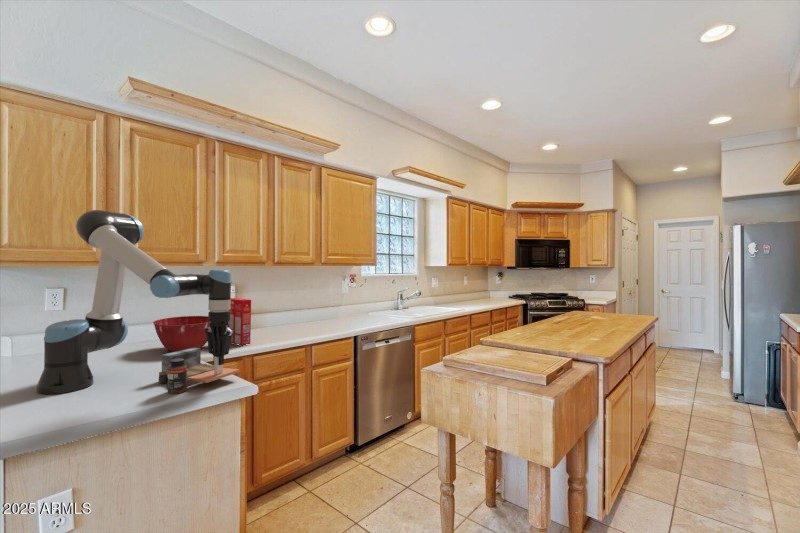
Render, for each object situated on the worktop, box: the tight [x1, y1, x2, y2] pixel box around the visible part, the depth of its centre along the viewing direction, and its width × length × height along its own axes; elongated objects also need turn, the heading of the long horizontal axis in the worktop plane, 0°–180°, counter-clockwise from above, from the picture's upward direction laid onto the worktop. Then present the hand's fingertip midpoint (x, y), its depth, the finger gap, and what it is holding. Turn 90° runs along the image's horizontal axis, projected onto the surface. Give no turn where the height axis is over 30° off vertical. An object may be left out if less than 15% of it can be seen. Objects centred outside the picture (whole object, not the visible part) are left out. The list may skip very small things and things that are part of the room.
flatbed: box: [158, 348, 214, 387], centre depth 148 cm, size 19×14×10 cm
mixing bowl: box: [152, 315, 210, 353], centre depth 194 cm, size 28×28×16 cm
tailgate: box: [187, 367, 241, 384], centre depth 142 cm, size 15×2×10 cm
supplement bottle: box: [167, 358, 188, 395], centre depth 133 cm, size 6×6×11 cm
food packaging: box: [228, 297, 252, 346], centre depth 210 cm, size 15×5×25 cm, turn 58°
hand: (218, 373), depth 142 cm, fingers closed
